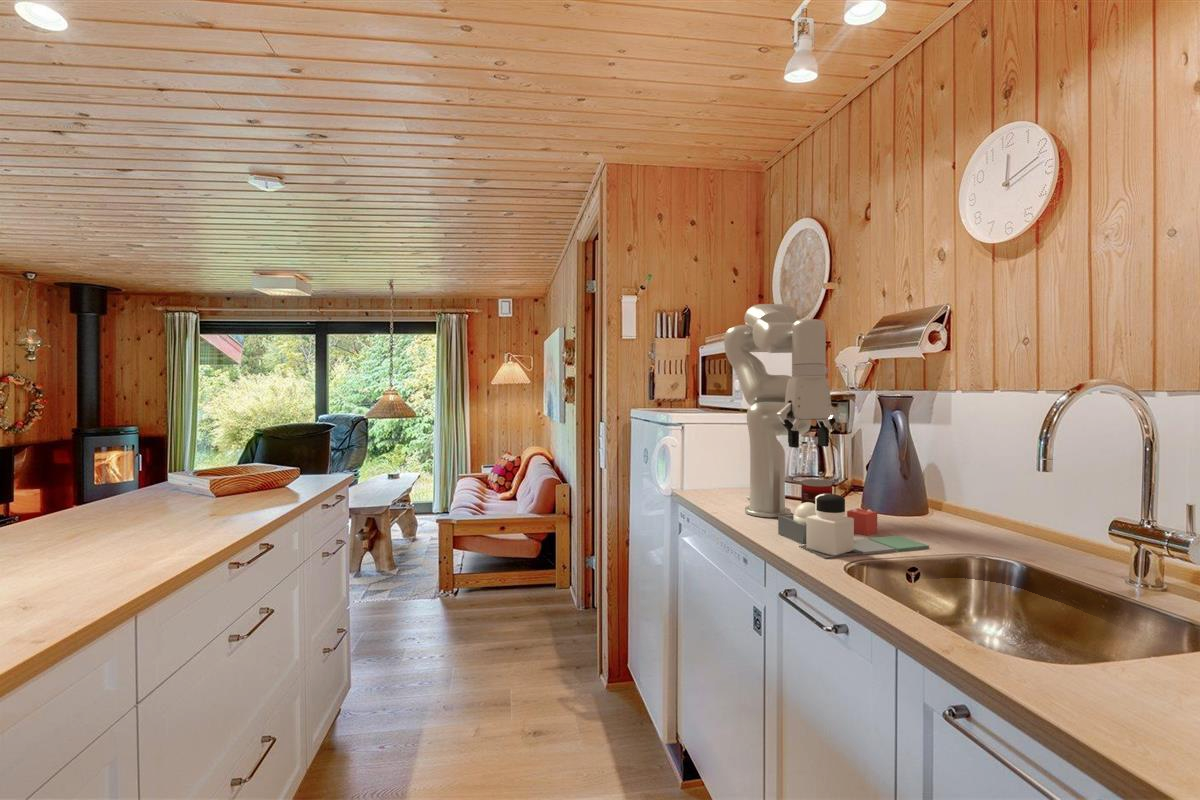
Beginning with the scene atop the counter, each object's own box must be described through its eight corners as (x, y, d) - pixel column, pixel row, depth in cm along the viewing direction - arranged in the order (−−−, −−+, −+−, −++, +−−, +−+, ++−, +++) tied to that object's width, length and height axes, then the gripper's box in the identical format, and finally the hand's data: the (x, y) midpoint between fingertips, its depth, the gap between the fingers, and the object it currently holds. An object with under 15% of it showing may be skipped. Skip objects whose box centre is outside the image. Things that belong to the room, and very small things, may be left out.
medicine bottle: (854, 550, 125) (854, 495, 124) (835, 556, 121) (835, 499, 120) (825, 543, 131) (825, 490, 130) (805, 548, 126) (805, 494, 126)
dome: (787, 526, 139) (787, 500, 139) (812, 524, 141) (812, 499, 141) (804, 533, 133) (804, 506, 132) (830, 531, 134) (830, 504, 134)
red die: (847, 531, 143) (847, 508, 142) (858, 527, 146) (858, 506, 145) (866, 535, 139) (866, 512, 138) (877, 531, 141) (877, 509, 141)
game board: (799, 547, 129) (799, 544, 129) (897, 537, 136) (897, 535, 136) (825, 558, 120) (825, 556, 120) (929, 548, 127) (929, 545, 127)
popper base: (778, 533, 140) (778, 515, 140) (813, 530, 143) (813, 512, 143) (803, 544, 131) (803, 525, 131) (840, 541, 133) (840, 522, 133)
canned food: (827, 519, 155) (827, 479, 155) (836, 526, 147) (836, 484, 147) (798, 519, 156) (798, 478, 155) (805, 526, 148) (805, 483, 147)
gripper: (829, 372, 142) (829, 443, 142) (767, 372, 137) (767, 446, 138) (850, 371, 135) (850, 447, 135) (785, 371, 130) (785, 449, 130)
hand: (808, 446), depth 136 cm, fingers open, 7 cm apart
